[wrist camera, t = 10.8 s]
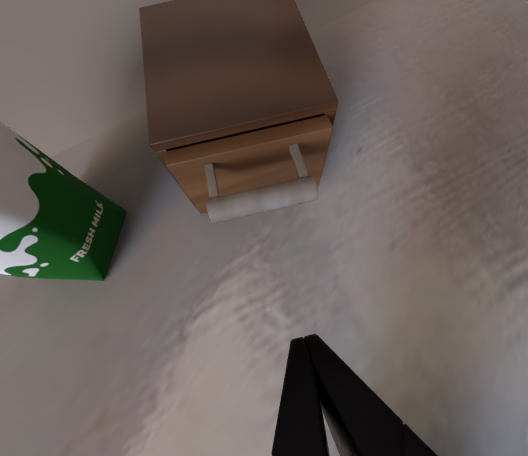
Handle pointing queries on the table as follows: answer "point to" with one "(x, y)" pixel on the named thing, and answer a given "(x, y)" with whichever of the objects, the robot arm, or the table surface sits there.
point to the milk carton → (51, 217)
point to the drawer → (253, 168)
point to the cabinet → (228, 70)
